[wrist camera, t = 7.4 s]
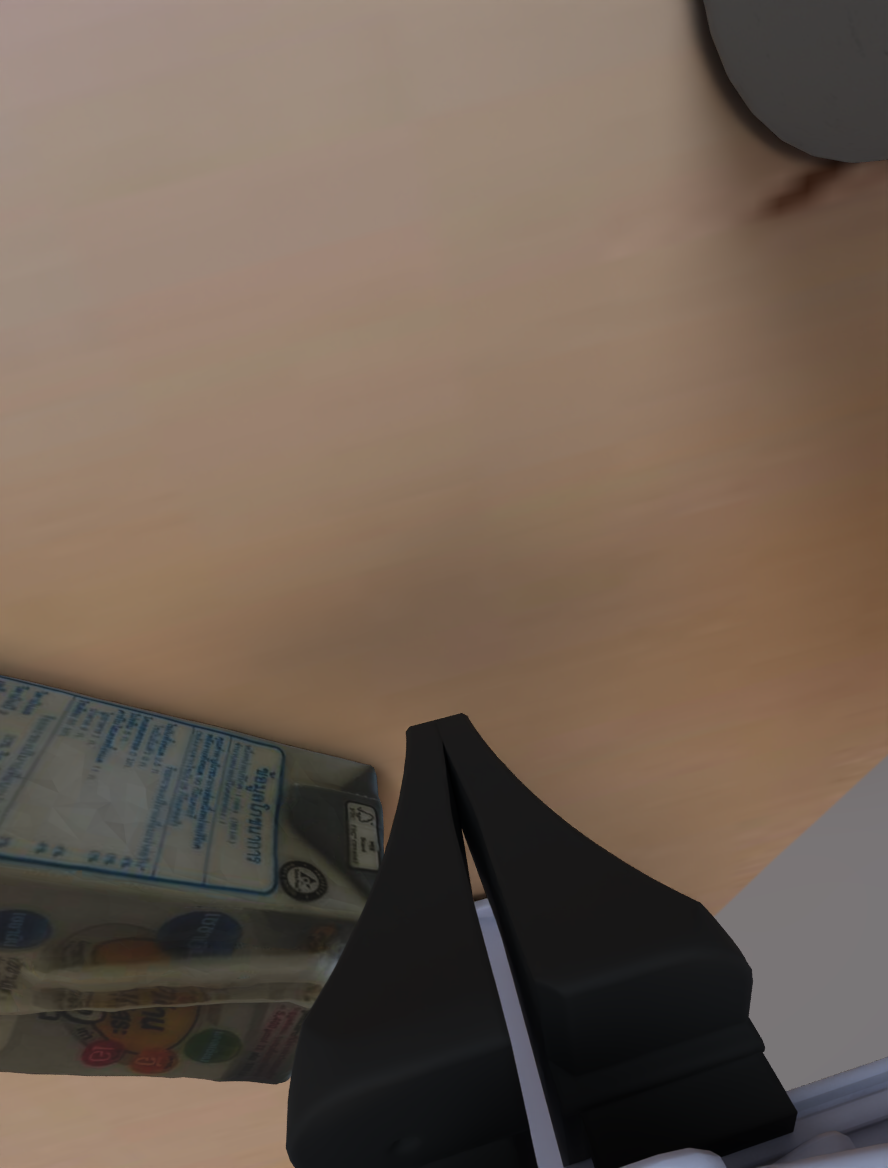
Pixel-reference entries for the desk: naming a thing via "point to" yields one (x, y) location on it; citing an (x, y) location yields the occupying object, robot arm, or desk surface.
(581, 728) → the desk surface
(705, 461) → the desk surface
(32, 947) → the beverage carton
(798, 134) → the water bottle
